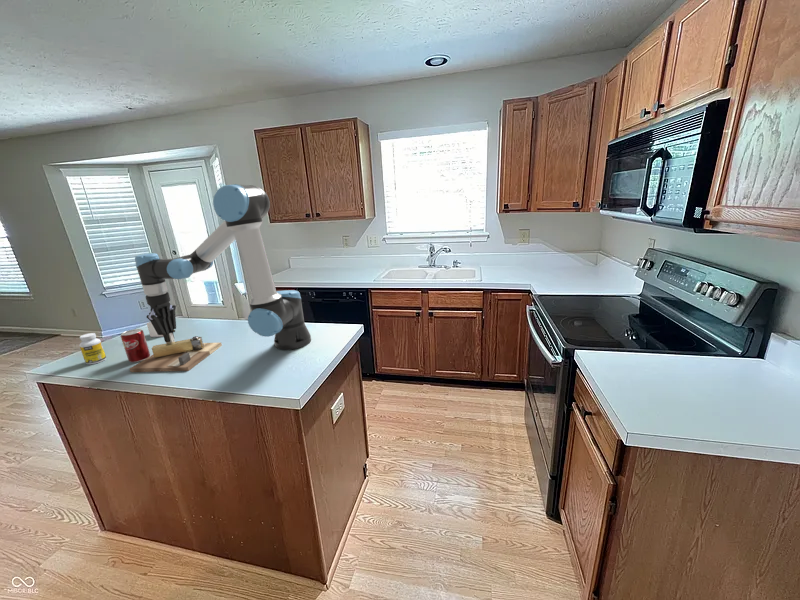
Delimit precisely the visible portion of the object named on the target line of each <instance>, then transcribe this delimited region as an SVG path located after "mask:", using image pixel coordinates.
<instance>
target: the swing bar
mask: <svg viewBox="0 0 800 600" xmlns="http://www.w3.org/2000/svg"><path fill="white" fill-rule="evenodd" d="M203 343H204V341H203V336H193V337H191V338H188V339H183V340H178V341H175V342H171V343H166V342H165V343H161V344H155V345H152V348H151V352H152V355H154V358H156V357H161V356H166V355H171V354H176V353H181V352H186V351H191V350H198V349H201V348H203V347H204V345H203Z"/></svg>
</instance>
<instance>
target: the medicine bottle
mask: <svg viewBox="0 0 800 600" xmlns="http://www.w3.org/2000/svg"><path fill="white" fill-rule="evenodd" d="M150 313H151V311H150V312H149V313H148V315H150ZM146 325H147V329H148V330H147V331H148V332H149V335H150V338H156V337H157V338H160V337H161V338H162V337H163V335H158V334H157V332H156V330H155V329H154V327H153V325H152V323H151V321H149V322H147V323H146Z"/></svg>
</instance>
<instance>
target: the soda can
mask: <svg viewBox="0 0 800 600" xmlns="http://www.w3.org/2000/svg"><path fill="white" fill-rule="evenodd" d="M120 339H121V342H122V345H123V349H124V351H125V354H126V357H127V361H128V362H130V363H131V364H132V363H134V364H135V363H140V362H141V361H143V360H145V359H146V358H148V357H150V356H151V352H150V349H149V345H148V343H147V340H146V337H145V332H144V330H143V329H142V328H135V329H130V330H126V331H124V332H121V334H120Z"/></svg>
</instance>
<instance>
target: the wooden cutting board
mask: <svg viewBox="0 0 800 600" xmlns="http://www.w3.org/2000/svg"><path fill="white" fill-rule="evenodd" d="M203 345H204V347H203V348H201V349H198V350H191V351H186V352H181V353H176V354H171V355H166V356H161V357H156V358H154V355H153V354H150V357H148V358H146V359H145V360H143V361H141V362H137V364H135V365H133V366H131V367H130V368H129V371H130V373H146V372H147V373H151V372H154V373H155V372H189V371H191V370H192V369H194V367H196V366H197V365H199V363H201V362H202V361H204V360H205V359H206V358H207V357H209V356H210V355H212V354H213V353H215V351H216V350H218V349H220V348H221V347H222V346H223V345H222V342H203ZM216 352H217V351H216Z"/></svg>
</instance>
